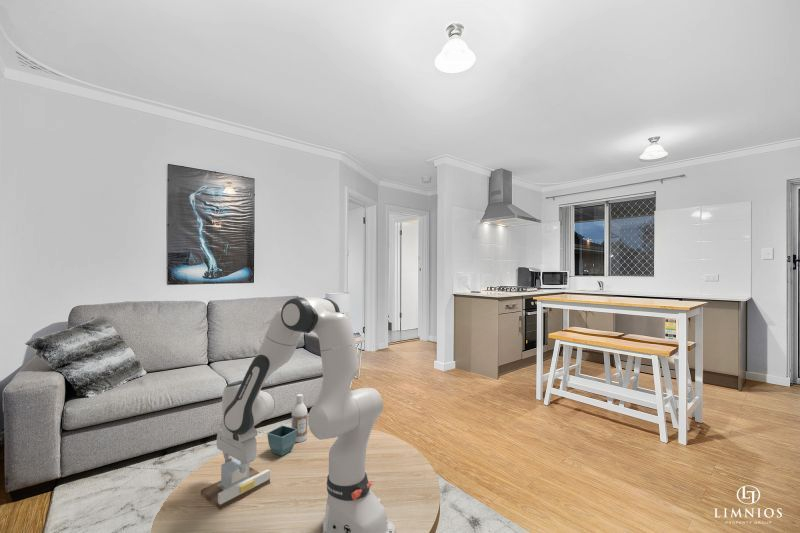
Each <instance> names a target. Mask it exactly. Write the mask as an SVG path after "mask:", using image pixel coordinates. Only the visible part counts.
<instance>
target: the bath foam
mask: <svg viewBox="0 0 800 533" xmlns="http://www.w3.org/2000/svg"><path fill="white" fill-rule="evenodd" d="M295 399H296V400H295V401H296V403H295V404H294V406H293V408H292V410H291V428H295V429H297V434H296V441H295V443H301V442H305V441H306V440H307V438H308V415H309V412H308V408H307V407H306V404H305V403H304V394H302V393H298V394H296V398H295Z"/></svg>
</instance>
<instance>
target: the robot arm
mask: <svg viewBox="0 0 800 533" xmlns="http://www.w3.org/2000/svg"><path fill="white" fill-rule="evenodd" d="M311 332H313V333H315V334H316V335H317V338H318V343H319V350H320V357H321V358H320V359H321V365H322V366H321V367H322V368H321V369H322V383H321V387H320V392H319V394H318V397H317V399H316V401H315V403H314V404H313V405H312V406H311V408H310V410H309V412H308V415H307V426H308V428H309V431H310V432H311V434H312V436H314V437H315V438H316V439H318V440H320V441H321V440H329V439H333V438H334V439H335V438H336V440H335V441H334V442H333V443H332V445H331V446H330V448H329V453H328V475H327V477H326V491H327V498H326V505H325V513H324V517H323V520H322V533H396V526H395V524H394V523H393V522H392V521H390V520H389V519H388V514H387V510H386V507H385V506H384V505H383V501H382V499H380V497H377V496H376V495H375V492H373V491H372V490H371V487H372V485H373V483H372V482H373V480H370V481H369V479H368V478H369V477H368V474H367V472H366V459H367V458H366V455H367V448H368V444H369V439H370V436H371V433H372V431H373V428H374V426H375V423H376V421H377V420H378V418H380V416H381V414H382V413H383V410H384V401H383V400H384V399H383V398H382V395H381V394H380V392H379V391H378V390H377V389H375V388H374V387H361V388H360V387H359V388H357V389H352V390H351V384H352V382H353V379H354V378H355V377H356V376H357V374H358V373H359V369H360V364H359V358H358V352H357V350H358V349H357V345H356V339H355V335H354V331H353V327H352V324H351V322H350V319H349V317H348V316H347V315H346V314H344V313H341V311H340V308H339V305H338V304H337V303H336V302H335V301H334V300H332V299H329V298H321V297H317V296H316V297H315V296H306V297H301V296H299V297H298V296H297V297H294V298H291V299H289V300H287V301H286V302H285V303H283V306H282V307H280V308H279V309H278V310H276V312H275V314H274V315H273V317H272V319H271V321H270V323H269V325H268V328H267V330H266V332H265V336H264V338H263V341H262V342H261V345H260V348H259V350H258V351H257V353H256V355H255V357H254V359H253V360H252V361H251V364H249V367H248V369H247V371H246V372H245V374H244V377H243V379H242V380H238V381H234V382H231V383H229V384H227V385H226V386H224V389H223V392H222V399H221V411H222V418H221V423H220V424H219V429H218V430H217V434H216V448H217V449H218V450H219V451H221V452H222V455H223V457H224V458H223V459H224V463H226V462H229V461H231V460H233V459H237V460H239V461H241V467H239V472H240V473H245V472H246V467H247V464H248V463H249V464H251V463H252V462H254V461H256V458H257V454H258V453H257V452H258V450H257V446H258V445H257V439H256V437H257V436H258V430H257V429H256V428H255V426H257V425H258V424H260V423H261V422H262V421H264V420H265V419H268V417H269V416H271V415H273V412H274V411H275V405H276V404H275V400H274V397H273V395H272V394H271V393H270V392H268V391H264V390H262V387H263V385H264V383H265V382H266V380H268V378H269V377H271V375H272V374H273V373H274V372H276V371H277V370H279V369H280V368H281V367H282V366H284V365H285V364H287V363H288V362H289V361H290V360H291V358H292V357H293V356H294V353H295V351H296V349H297V346H298V343H299V341H300V337H301V335H302V333H305V334H309V333H311Z"/></svg>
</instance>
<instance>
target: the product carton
mask: <svg viewBox="0 0 800 533" xmlns="http://www.w3.org/2000/svg"><path fill="white" fill-rule="evenodd" d="M220 467H221V474H220V475H221V477H220V478H221V479H220V481H221V485H222V486H223V487H225V488H226V489H228V488H230V487H232V486H234V485H236V484H238V483H240V482H242V481H245V480H247V479H249V467H250V463H248V464H247V467H246V472H245V473H240V472H239V467H241V461H239V460H237V459H235V458H232V460H231V461H229V462H226V463H225V462H224V463H222V464H221V466H220Z"/></svg>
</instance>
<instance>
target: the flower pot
mask: <svg viewBox="0 0 800 533" xmlns="http://www.w3.org/2000/svg"><path fill="white" fill-rule="evenodd" d="M291 427H292V426H291ZM291 427H290V426H287V425H280V426H279V427H277V428H274V429H272V430H270V431H268V432H267V433H266V434H267V441H268V447H269V448H270V450H271V451H272V453H273V454H275V455H278V456H281V457H283V456H285V455H286V454H288V453H290V452H291V451H292V449H293V448H294V446H295V444H296V442H295V441H296V434H297V429H295V428H291Z"/></svg>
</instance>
